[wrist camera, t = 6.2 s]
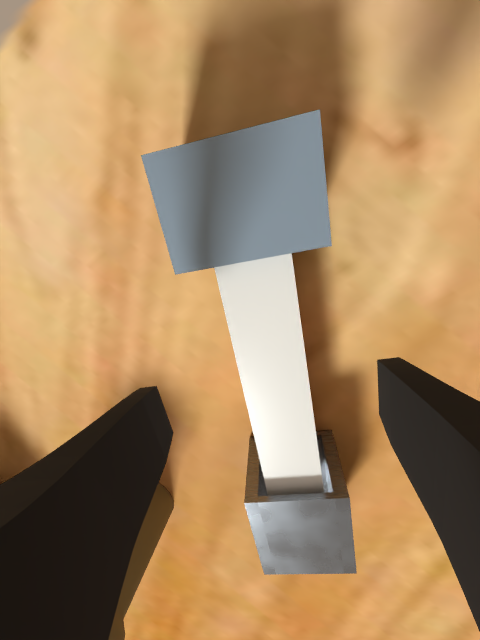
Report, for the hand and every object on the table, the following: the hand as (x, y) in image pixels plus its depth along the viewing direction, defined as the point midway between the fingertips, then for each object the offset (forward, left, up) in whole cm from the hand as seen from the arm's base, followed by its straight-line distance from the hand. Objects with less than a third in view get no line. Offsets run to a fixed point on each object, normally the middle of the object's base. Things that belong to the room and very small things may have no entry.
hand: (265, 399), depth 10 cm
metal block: (0, +14, -9) cm, 17 cm away
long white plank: (0, +2, -9) cm, 9 cm away
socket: (0, -6, -9) cm, 11 cm away
